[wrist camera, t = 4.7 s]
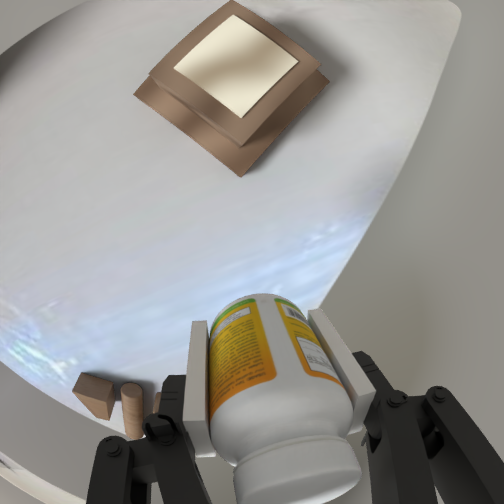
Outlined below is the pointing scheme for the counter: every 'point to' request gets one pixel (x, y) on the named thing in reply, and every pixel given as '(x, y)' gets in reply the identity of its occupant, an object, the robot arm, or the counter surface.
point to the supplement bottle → (278, 406)
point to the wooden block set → (103, 399)
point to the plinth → (233, 85)
